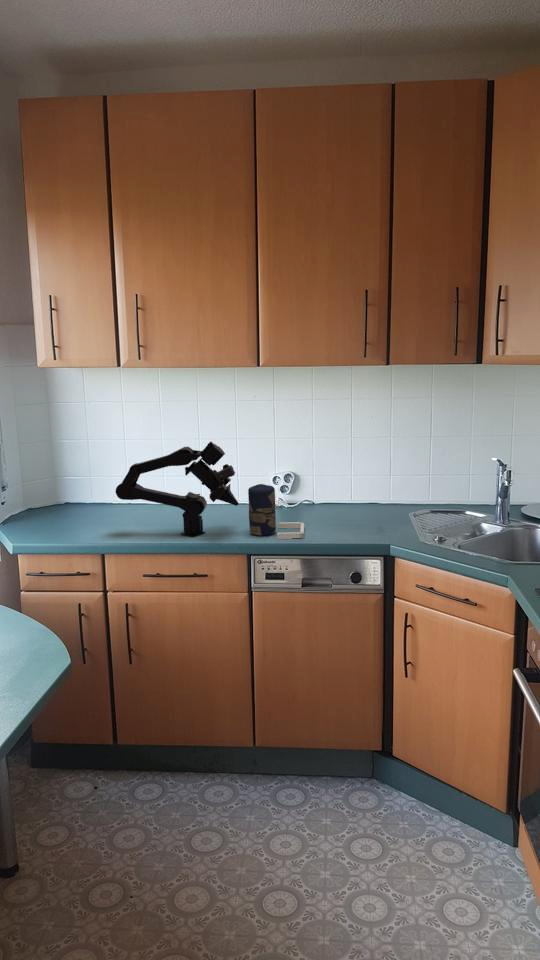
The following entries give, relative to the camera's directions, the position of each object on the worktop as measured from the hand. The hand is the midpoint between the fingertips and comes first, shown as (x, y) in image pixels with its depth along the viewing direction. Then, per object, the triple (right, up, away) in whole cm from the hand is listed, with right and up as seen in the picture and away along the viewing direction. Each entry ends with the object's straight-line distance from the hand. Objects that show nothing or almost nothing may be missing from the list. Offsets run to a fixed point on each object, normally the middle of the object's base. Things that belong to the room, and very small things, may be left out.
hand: (237, 504), depth 264 cm
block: (+19, -10, +1) cm, 22 cm away
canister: (+9, -11, +2) cm, 14 cm away
